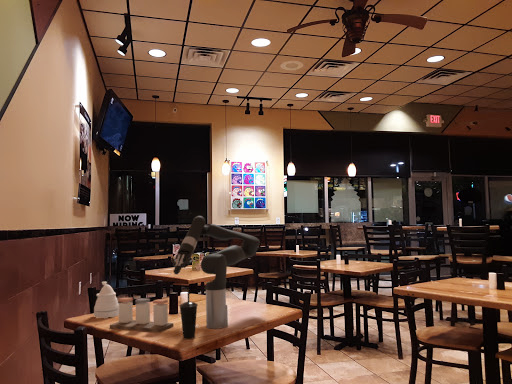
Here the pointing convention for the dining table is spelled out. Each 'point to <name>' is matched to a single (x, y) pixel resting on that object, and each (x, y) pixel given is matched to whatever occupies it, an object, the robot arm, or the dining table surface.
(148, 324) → the wooden serving board
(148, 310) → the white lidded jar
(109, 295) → the honey pot
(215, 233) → the robot arm
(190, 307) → the drinking cup
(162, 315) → the white lidded canister
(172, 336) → the dining table surface
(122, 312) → the white spice jar
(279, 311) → the dining table surface
